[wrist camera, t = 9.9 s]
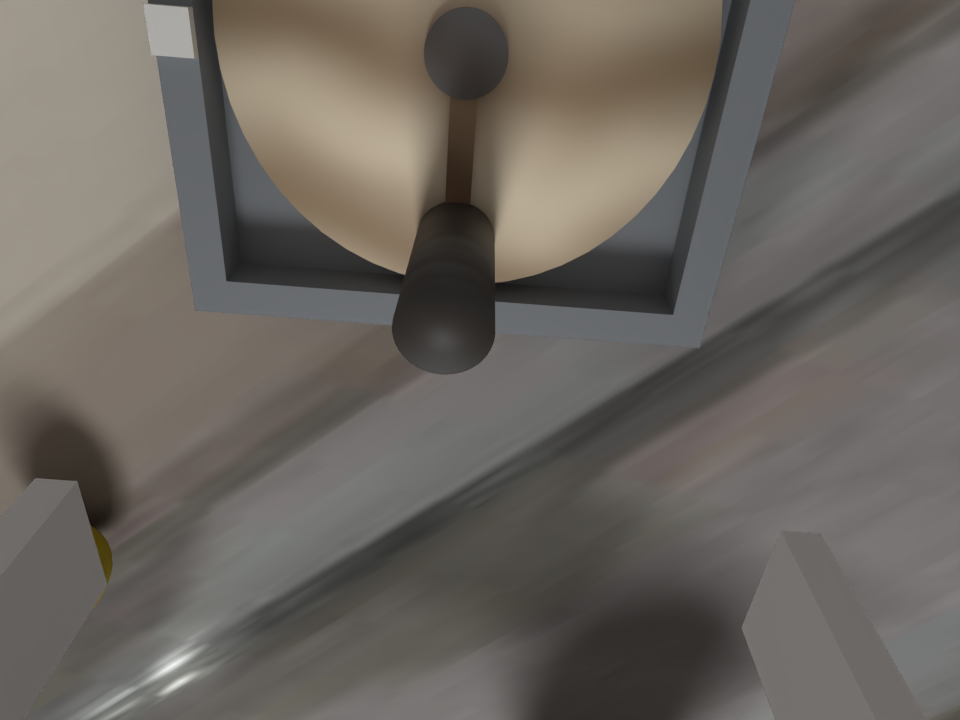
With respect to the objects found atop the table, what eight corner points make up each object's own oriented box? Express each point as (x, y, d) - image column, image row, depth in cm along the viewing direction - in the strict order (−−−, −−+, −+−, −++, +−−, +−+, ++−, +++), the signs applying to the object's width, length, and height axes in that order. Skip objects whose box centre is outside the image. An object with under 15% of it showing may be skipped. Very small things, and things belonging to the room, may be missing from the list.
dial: (194, -294, 21) (2, -459, 13) (772, -241, 21) (946, -366, 13) (251, 254, 30) (161, 364, 22) (655, 285, 30) (715, 403, 22)
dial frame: (834, -303, 22) (897, -351, 18) (680, 312, 33) (701, 352, 30) (141, -371, 21) (75, -433, 18) (223, 278, 32) (191, 314, 29)
